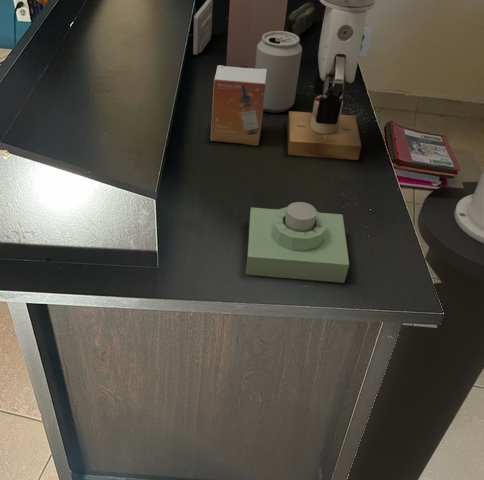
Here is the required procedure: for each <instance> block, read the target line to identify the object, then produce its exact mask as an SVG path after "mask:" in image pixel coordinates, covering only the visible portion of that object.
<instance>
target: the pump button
mask: <svg viewBox="0 0 484 480" xmlns="http://www.w3.org/2000/svg"><path fill="white" fill-rule="evenodd" d="M286 207H287V210H286V216H285V226H286V227H287V228H288V229H291V230H293V231H295V232H308V231H311V230H312V229H313V228H314V224H315V219H316V214H317V209H316V208H315V206H314V205H312V204H310V203H309V202H308V203H307V202H305V201H295V202H291V203H290V204H289V205H288V206H286Z"/></svg>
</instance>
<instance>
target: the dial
mask: <svg viewBox="0 0 484 480" xmlns="http://www.w3.org/2000/svg"><path fill="white" fill-rule="evenodd" d="M320 96H321V97H323V94H319V95H317V96H315V97H314V101H313V107H312V112H311V113H312V118H311V124H310V127H311V129H312V130H313V131H315V132H317V133H321V134H332V133H335V132H336V131H337V130H338V126H339V121H340V116H341V115H342V111H343V107H344V101H343V100H342V104H341V108H340V113H339V117H338V121H337V124H335V125H333V124H322V123H317V122H316V115H317V110H318V106H319V101H320Z"/></svg>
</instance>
